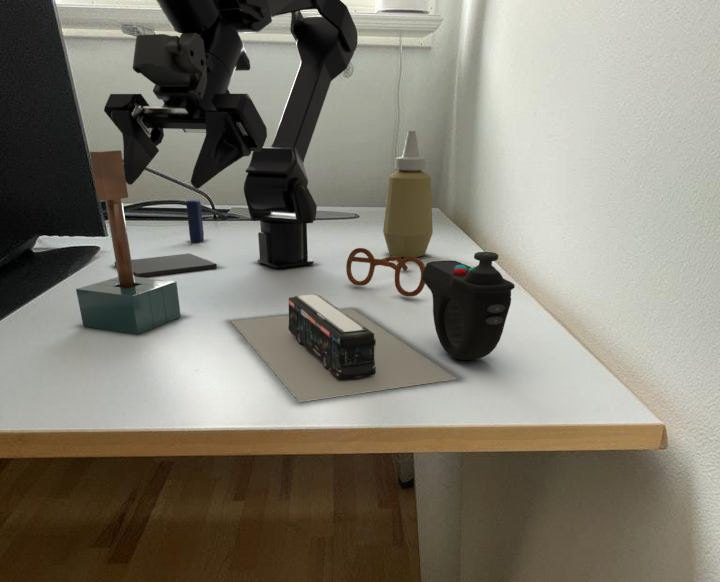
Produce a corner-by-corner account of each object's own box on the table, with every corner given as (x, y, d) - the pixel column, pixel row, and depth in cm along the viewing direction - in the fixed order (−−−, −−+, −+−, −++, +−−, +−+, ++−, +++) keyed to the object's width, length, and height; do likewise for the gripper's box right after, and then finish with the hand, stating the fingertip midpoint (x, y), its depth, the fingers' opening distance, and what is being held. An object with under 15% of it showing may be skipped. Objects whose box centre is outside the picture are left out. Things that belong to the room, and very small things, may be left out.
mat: (189, 257, 105) (189, 253, 105) (217, 268, 98) (216, 263, 98) (114, 265, 99) (114, 261, 99) (138, 278, 92) (137, 273, 92)
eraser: (193, 240, 119) (189, 199, 116) (205, 240, 119) (201, 199, 116) (189, 242, 117) (184, 200, 114) (201, 242, 117) (196, 201, 114)
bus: (299, 402, 53) (297, 351, 51) (231, 321, 74) (227, 282, 71) (456, 379, 58) (460, 332, 56) (351, 309, 78) (352, 272, 76)
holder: (129, 309, 77) (123, 275, 76) (181, 317, 75) (176, 281, 73) (83, 326, 72) (75, 288, 70) (138, 334, 69) (131, 296, 67)
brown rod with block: (137, 317, 75) (111, 149, 67) (149, 318, 74) (123, 150, 66) (117, 324, 72) (86, 151, 64) (128, 326, 72) (99, 151, 63)
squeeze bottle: (428, 261, 104) (435, 132, 95) (378, 258, 105) (380, 131, 97) (433, 251, 111) (441, 130, 102) (386, 249, 112) (389, 130, 104)
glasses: (344, 285, 89) (344, 246, 87) (405, 270, 98) (406, 235, 95) (420, 302, 81) (422, 260, 79) (480, 285, 90) (483, 246, 87)
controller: (468, 378, 58) (479, 261, 54) (413, 338, 69) (418, 237, 64) (511, 372, 60) (525, 258, 55) (451, 334, 70) (458, 235, 65)
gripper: (98, 8, 72) (44, 126, 69) (244, 0, 66) (191, 129, 63) (156, 92, 83) (111, 198, 79) (287, 91, 76) (243, 207, 73)
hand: (159, 184), depth 73 cm, fingers open, 9 cm apart
